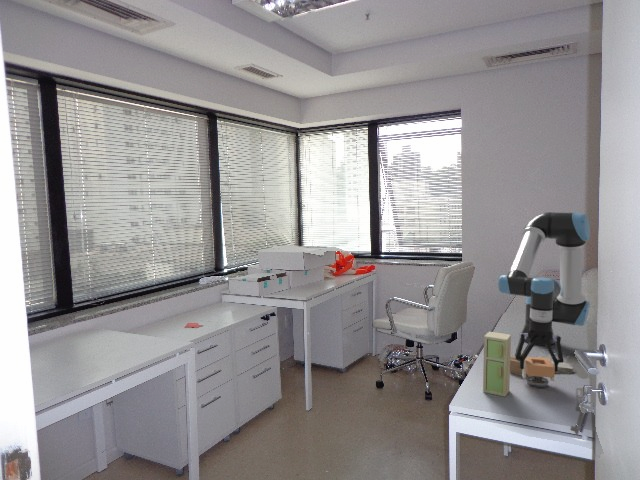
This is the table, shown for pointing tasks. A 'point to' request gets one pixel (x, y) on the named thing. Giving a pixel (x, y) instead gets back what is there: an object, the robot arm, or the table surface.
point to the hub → (537, 381)
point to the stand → (515, 365)
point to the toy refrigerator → (496, 363)
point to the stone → (562, 367)
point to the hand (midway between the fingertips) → (537, 378)
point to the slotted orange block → (539, 367)
